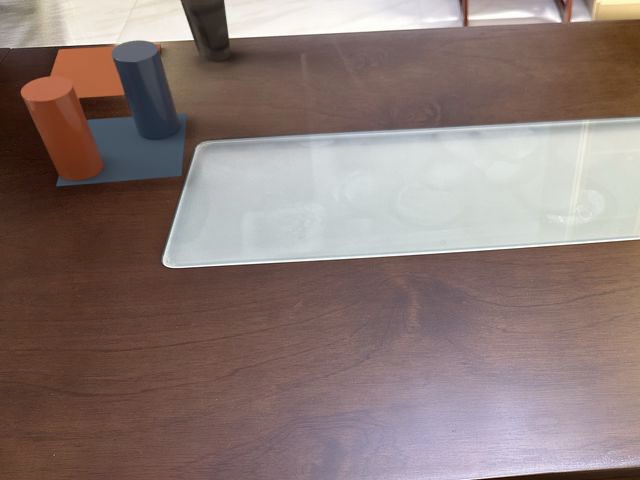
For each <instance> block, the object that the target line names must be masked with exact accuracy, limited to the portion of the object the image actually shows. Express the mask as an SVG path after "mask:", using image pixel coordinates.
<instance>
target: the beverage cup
mask: <svg viewBox="0 0 640 480" xmlns="http://www.w3.org/2000/svg"><path fill="white" fill-rule="evenodd" d="M179 1H180V3H181V6H182V9H183V12H184V16H185V18H186V21H187V24H188V28H189V30H190V33H191V36H192V39H193V41H194V44H195V47H196V51H197V53H198V54H199V57H200V58H201V60H203V61H205V62H208V63H216V62H217V63H218V62H223V61H225V60H227V59H228V58H230V56H231V44H230V36H229V27H228V19H227V12H226V11H227V10H226V4H225V0H179Z"/></svg>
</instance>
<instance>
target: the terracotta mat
mask: <svg viewBox="0 0 640 480" xmlns="http://www.w3.org/2000/svg"><path fill="white" fill-rule="evenodd" d="M154 44H155V45H156V46H157V47H158V50H159V53H160V54H161V51H162V46H161V43H154ZM116 46H117V45H116ZM116 46H115V45H114V46H98V47H97V46H96V47H79V48H76V47H75V48H59V49H58V51H57V55H56V58H55V60H54V63H53V67H52V70H51V72H50V76H58V77H64V78H67V79H69V80H70V81H71V82H72V83H73V86H74V88H75V91H76V93H77V96H78V98H79V99H85V98H86V99H87V98H101V97H103V98H104V97H117V96H118V97H119V96H125V94H124V91H123V88H122V85H121V82H120V79H119V76H118V73H117V70H116V67H115V64H114V62H113V59H112V56H111V52H112V50H113V49H114V48H115V47H116ZM50 76H49V77H50Z"/></svg>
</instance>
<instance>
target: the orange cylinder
mask: <svg viewBox="0 0 640 480" xmlns="http://www.w3.org/2000/svg"><path fill="white" fill-rule="evenodd" d="M20 95H21V97H22V100H23V101H24V104H25V106H26V108H27V109H28V113H29V115H30V118H31V119H32V122H33V123H34V126H35V128H36V131H37V132H38V134H39V136H40V138H41V141H42V143H43V145H44V147H45V149H46V152H47V153H48V156H49V158H50V160H51V162H52V165H53V166H54V169H55V171H56V173H57V175H58V177H59V176H60V177H61V178H63V179H65V180H69V181H81V180H86V179H89V178H92V177H94V176H96V175H97V174H99V173H100V172H101V171H102V170H103V168H104V161H103V159H102V156H101V154H100V151H99V149H98V146H97V144H96V141H95V139H94V136H93V134H92V131H91V129H90V126H89V124H88V121H87V120H88V119H87V116H86V114H85V111H84V109H83V106H82V104H81V101H80V98H78V96H77V93H76V91H75V88H74V86H73V83H72V82H71V81H70V80H69V79H67V78H64V77H58V76H44V77H39V78H36V79H33V80H30V81H29V82H28V83H26V84H25V85H24V86H22V88H21V89H20Z"/></svg>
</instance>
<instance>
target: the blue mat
mask: <svg viewBox="0 0 640 480" xmlns="http://www.w3.org/2000/svg"><path fill="white" fill-rule="evenodd" d="M177 115H178V119H179V122H180V129H179V131H178V132H177V133H176V134H174V135H172V136H170V137H168V138H164V139H158V140H152V139H146V138H143V137H142V136H140V135H139V134H138V131H137V128H136V126H135V123H134V120H133V117H132V116H123V117H107V118H95V119H94V118H92V119H87V121H88V124H89V126H90V129H91V131H92V134H93V136H94V139H95V141H96V144H97V146H98V149H99V151H100V154H101V156H102V159H103V161H104V168H103V170H102V171H101V172H100V173H99V174H97V175H96V176H94V177H92V178H89V179H86V180H81V181H69V180H65V179H63V178H61V177H60V176H59V175H58V178H57V181H56V184H55V187H66V186H78V185H79V186H80V185H89V184H90V185H91V184H105V183H116V182H126V181H127V182H129V181H139V180H151V179H164V178H165V179H166V178H175V177H182V176H183V175H182V174H183V164H184V153H185V152H184V151H185V143H186V141H185V140H186V130H187V118H188V112H183V113H182V112H181V113H177Z"/></svg>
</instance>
